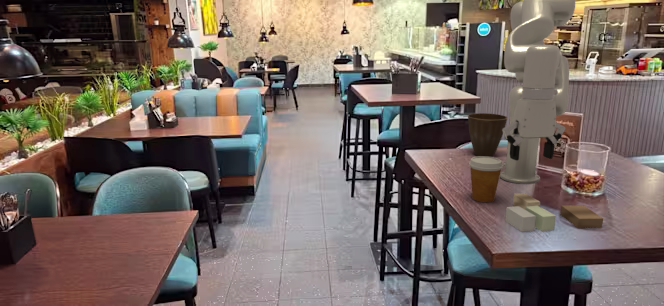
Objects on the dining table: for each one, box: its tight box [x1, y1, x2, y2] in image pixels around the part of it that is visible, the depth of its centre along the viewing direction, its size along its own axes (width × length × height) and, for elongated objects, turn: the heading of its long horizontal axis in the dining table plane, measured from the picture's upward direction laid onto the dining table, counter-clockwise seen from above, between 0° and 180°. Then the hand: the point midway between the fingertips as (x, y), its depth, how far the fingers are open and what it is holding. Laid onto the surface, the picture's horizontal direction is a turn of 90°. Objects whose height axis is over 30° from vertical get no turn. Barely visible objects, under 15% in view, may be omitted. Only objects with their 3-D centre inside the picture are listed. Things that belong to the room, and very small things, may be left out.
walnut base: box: [559, 204, 604, 229], centre depth 116 cm, size 9×6×3 cm, turn 0°
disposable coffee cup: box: [468, 156, 504, 203], centre depth 132 cm, size 10×10×12 cm
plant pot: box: [467, 112, 508, 157], centre depth 180 cm, size 15×15×16 cm
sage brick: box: [525, 206, 556, 232], centre depth 114 cm, size 7×4×4 cm, turn 12°
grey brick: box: [505, 206, 536, 233], centre depth 113 cm, size 7×4×4 cm, turn 12°
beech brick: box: [512, 192, 541, 209], centre depth 123 cm, size 7×4×4 cm, turn 9°
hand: (531, 158), depth 119 cm, fingers open, 9 cm apart
